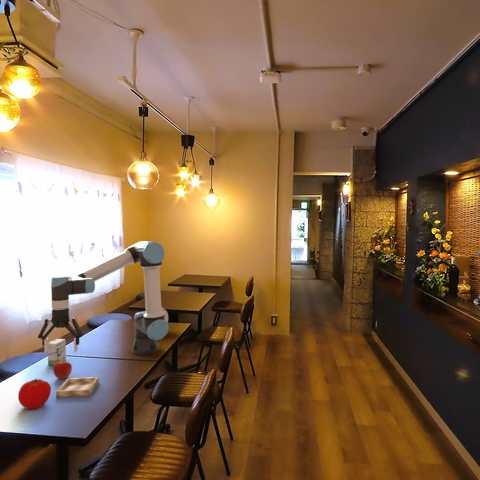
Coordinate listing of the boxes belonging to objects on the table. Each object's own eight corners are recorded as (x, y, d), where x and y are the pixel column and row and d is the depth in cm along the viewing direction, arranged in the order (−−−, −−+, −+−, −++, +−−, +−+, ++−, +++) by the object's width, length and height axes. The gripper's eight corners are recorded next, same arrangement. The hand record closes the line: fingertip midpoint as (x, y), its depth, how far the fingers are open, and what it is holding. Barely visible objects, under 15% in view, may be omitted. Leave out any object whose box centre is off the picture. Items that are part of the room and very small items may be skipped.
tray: (98, 383, 179) (98, 376, 178) (89, 396, 165) (89, 389, 165) (67, 384, 177) (67, 378, 177) (56, 398, 163) (55, 391, 163)
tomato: (16, 415, 149) (15, 387, 149) (20, 403, 160) (19, 376, 159) (50, 409, 154) (49, 382, 153) (52, 397, 164) (51, 372, 164)
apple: (50, 378, 185) (50, 358, 184) (67, 373, 190) (67, 354, 190) (57, 383, 179) (56, 362, 179) (74, 378, 185) (74, 357, 185)
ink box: (58, 359, 211) (57, 338, 211) (66, 359, 210) (65, 338, 210) (47, 365, 203) (46, 343, 202) (56, 365, 202) (55, 343, 201)
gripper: (89, 306, 188) (90, 348, 189) (36, 307, 186) (37, 350, 187) (84, 309, 181) (85, 353, 181) (29, 310, 178) (30, 355, 179)
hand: (61, 352), depth 184 cm, fingers open, 13 cm apart
